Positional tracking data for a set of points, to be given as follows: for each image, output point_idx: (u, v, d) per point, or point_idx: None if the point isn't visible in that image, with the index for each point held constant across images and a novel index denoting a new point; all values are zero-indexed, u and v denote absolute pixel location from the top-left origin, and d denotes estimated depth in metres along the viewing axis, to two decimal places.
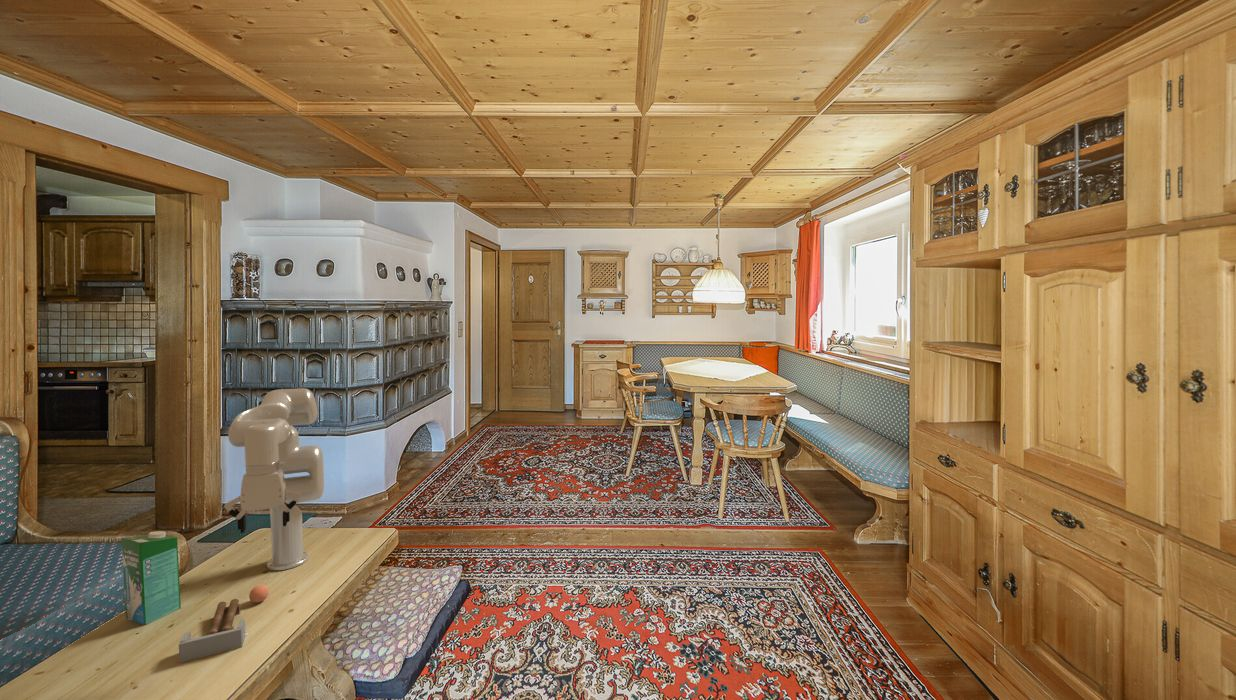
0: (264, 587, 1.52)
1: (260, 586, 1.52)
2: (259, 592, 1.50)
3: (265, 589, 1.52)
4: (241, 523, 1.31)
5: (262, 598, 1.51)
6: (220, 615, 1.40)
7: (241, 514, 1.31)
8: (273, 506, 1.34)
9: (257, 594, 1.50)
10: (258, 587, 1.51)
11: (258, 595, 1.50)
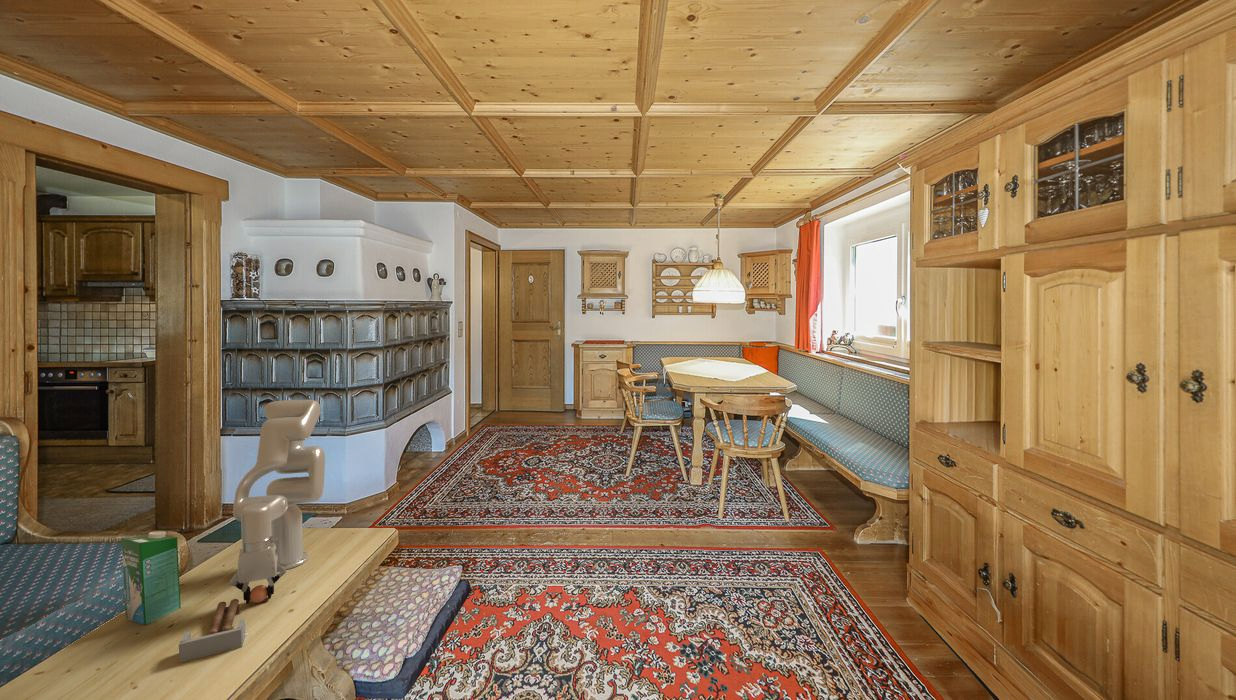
0: (264, 587, 1.52)
1: (260, 586, 1.52)
2: (259, 592, 1.50)
3: (265, 589, 1.52)
4: (246, 595, 1.49)
5: (262, 598, 1.51)
6: (220, 615, 1.40)
7: (246, 587, 1.49)
8: (266, 577, 1.51)
9: (257, 595, 1.50)
10: (258, 587, 1.51)
11: (258, 595, 1.50)
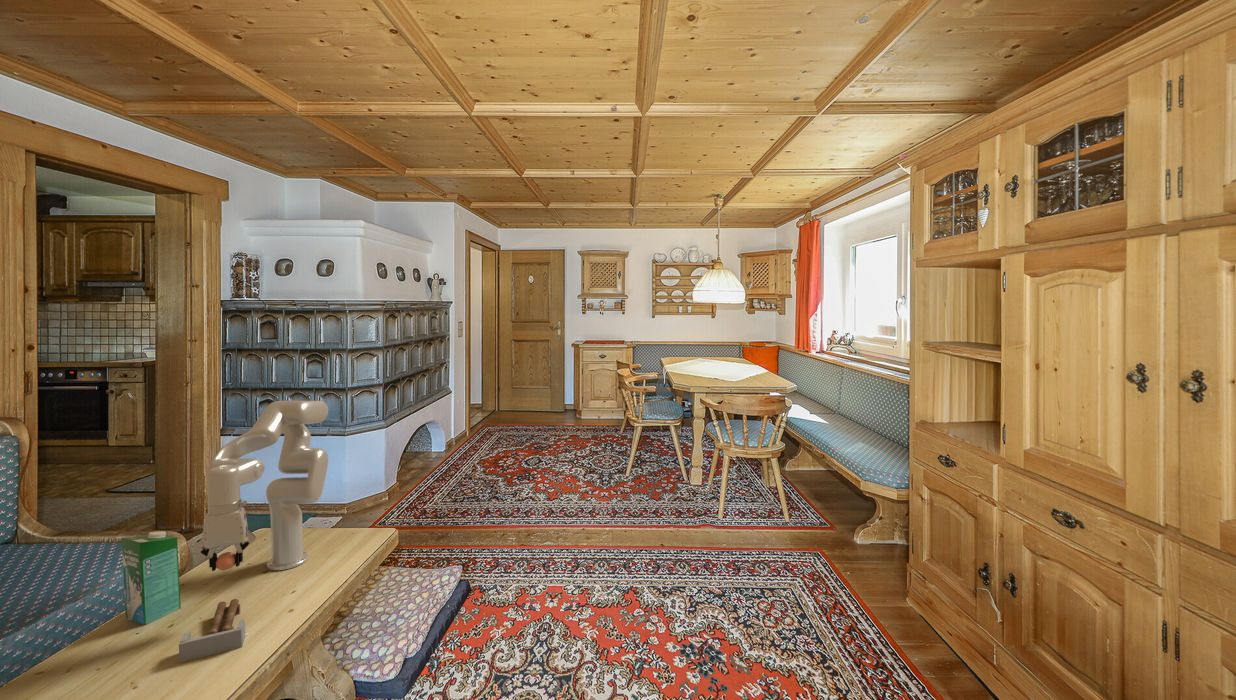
0: (232, 554, 1.44)
1: (227, 553, 1.43)
2: (226, 559, 1.42)
3: (233, 556, 1.43)
4: (212, 562, 1.41)
5: (229, 565, 1.42)
6: (220, 615, 1.40)
7: (212, 553, 1.41)
8: (234, 543, 1.43)
9: (223, 561, 1.41)
10: (225, 554, 1.43)
11: (225, 562, 1.41)
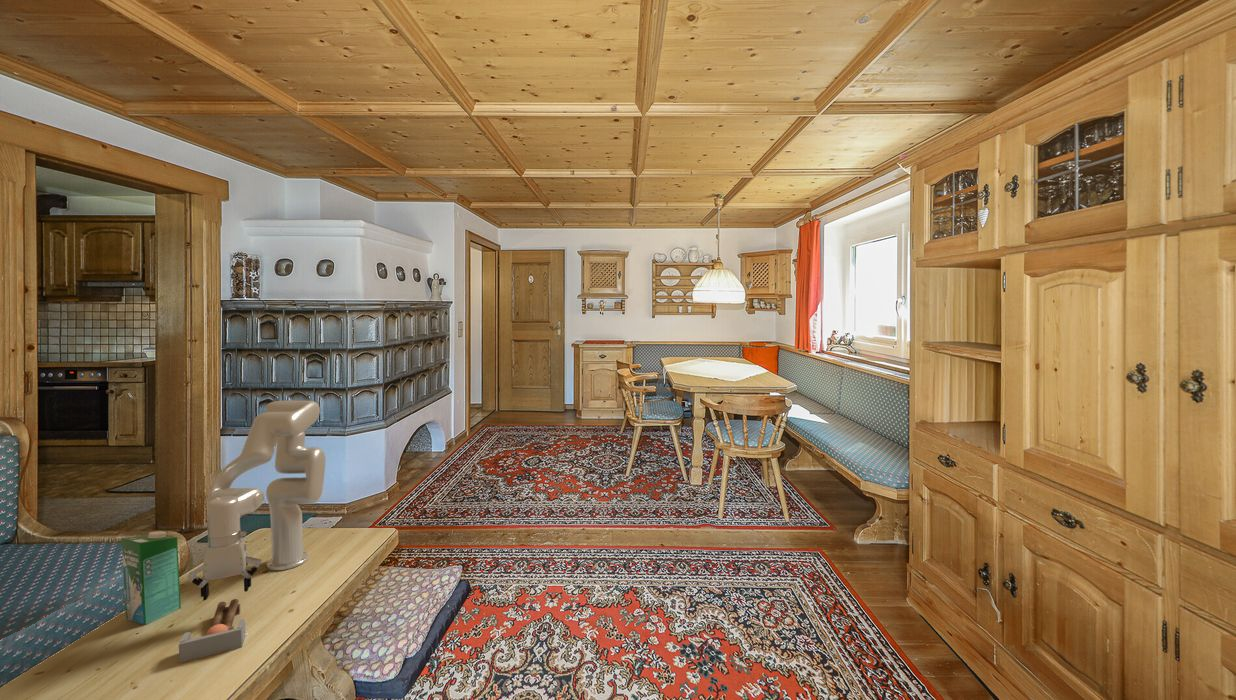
0: None
1: None
2: (223, 625, 1.33)
3: (227, 628, 1.34)
4: (204, 591, 1.40)
5: None
6: (220, 615, 1.40)
7: (204, 583, 1.40)
8: (234, 574, 1.43)
9: (220, 626, 1.32)
10: None
11: (221, 627, 1.32)
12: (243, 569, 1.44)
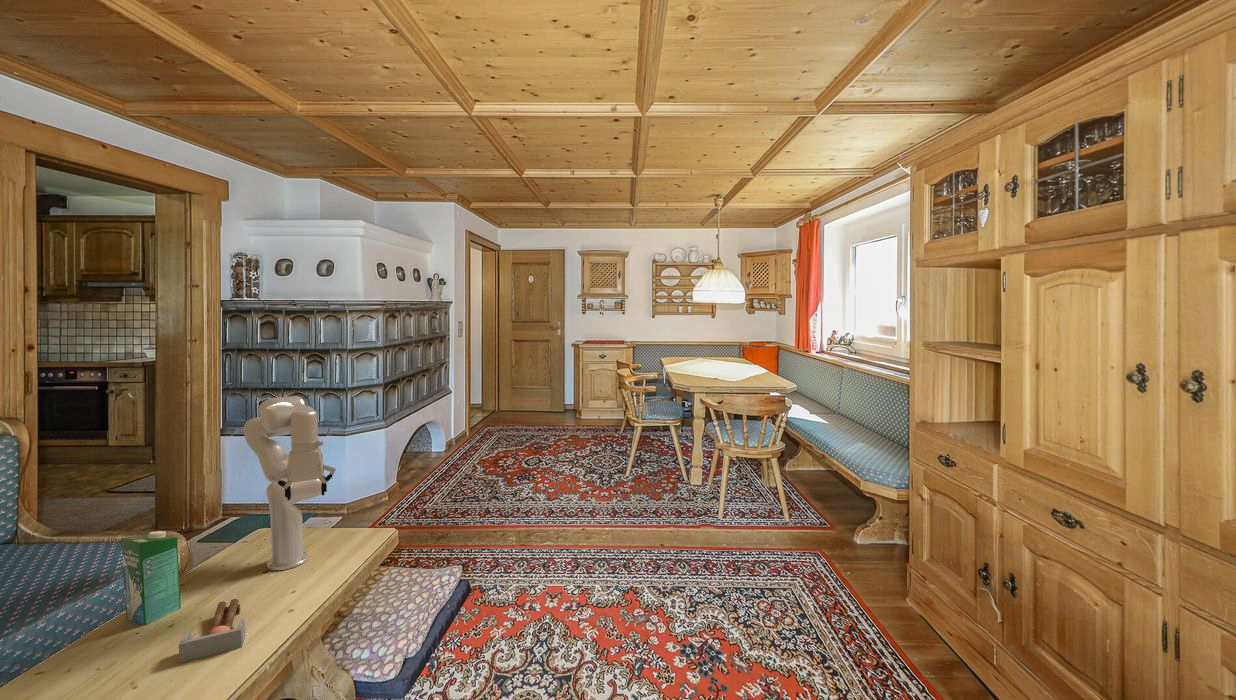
0: (229, 629, 1.34)
1: (226, 626, 1.34)
2: (227, 630, 1.32)
3: None
4: (288, 492, 1.57)
5: None
6: (220, 615, 1.40)
7: (288, 484, 1.57)
8: (314, 478, 1.60)
9: None
10: (225, 626, 1.33)
11: None
12: (321, 474, 1.61)
